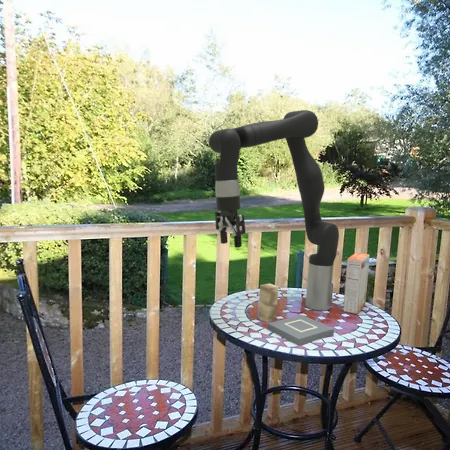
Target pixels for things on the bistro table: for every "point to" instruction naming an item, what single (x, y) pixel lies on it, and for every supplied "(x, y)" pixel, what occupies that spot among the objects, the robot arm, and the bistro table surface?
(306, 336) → the grey rectangular slab
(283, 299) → the bistro table surface
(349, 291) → the cracker box
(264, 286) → the maple block
